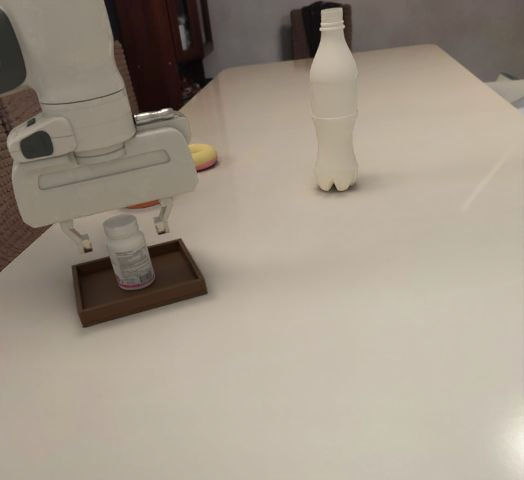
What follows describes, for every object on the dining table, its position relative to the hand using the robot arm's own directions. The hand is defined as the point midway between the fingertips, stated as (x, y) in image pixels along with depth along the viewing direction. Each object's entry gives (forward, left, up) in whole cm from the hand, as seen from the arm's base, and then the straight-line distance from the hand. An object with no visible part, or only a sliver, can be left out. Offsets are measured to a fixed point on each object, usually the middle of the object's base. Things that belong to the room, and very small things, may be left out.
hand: (125, 241), depth 65 cm
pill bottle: (0, 0, -6) cm, 6 cm away
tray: (0, 0, -6) cm, 6 cm away
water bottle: (+36, +16, -6) cm, 40 cm away
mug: (+7, +31, -6) cm, 32 cm away
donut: (+18, +43, -6) cm, 47 cm away
